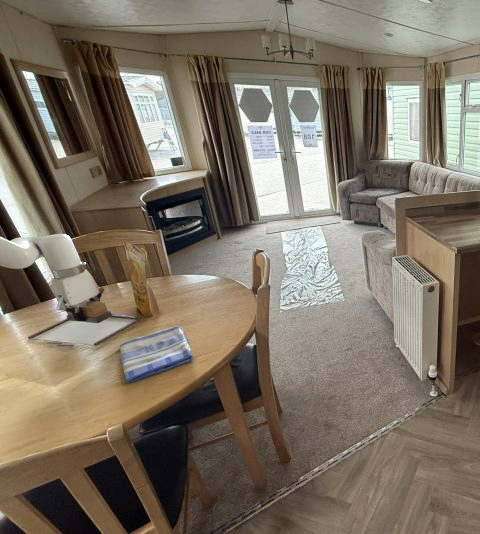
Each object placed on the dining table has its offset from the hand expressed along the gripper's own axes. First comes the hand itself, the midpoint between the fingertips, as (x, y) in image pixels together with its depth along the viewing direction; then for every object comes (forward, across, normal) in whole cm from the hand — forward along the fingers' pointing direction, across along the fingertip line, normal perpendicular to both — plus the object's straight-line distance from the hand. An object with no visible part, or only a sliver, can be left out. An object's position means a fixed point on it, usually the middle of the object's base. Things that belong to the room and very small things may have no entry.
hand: (89, 316), depth 121 cm
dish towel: (+5, +10, +35) cm, 37 cm away
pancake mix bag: (+5, -14, +9) cm, 17 cm away
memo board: (+5, +2, 0) cm, 5 cm away
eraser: (+1, 0, 0) cm, 1 cm away
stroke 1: (+4, +11, -2) cm, 12 cm away
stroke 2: (+4, +11, +3) cm, 12 cm away
